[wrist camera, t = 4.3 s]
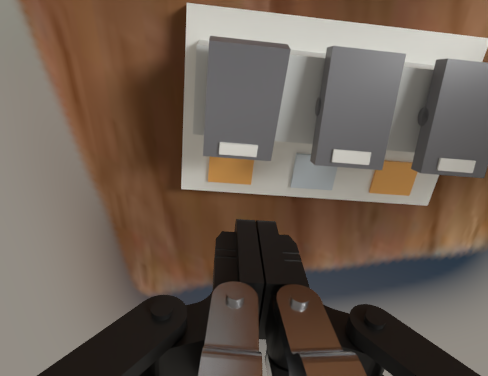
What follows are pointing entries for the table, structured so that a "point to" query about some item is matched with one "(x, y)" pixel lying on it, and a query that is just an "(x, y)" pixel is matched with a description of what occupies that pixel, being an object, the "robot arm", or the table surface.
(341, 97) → the rocker middle
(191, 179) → the switch unit
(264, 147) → the block
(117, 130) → the table surface
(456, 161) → the rocker
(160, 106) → the table surface
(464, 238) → the table surface
